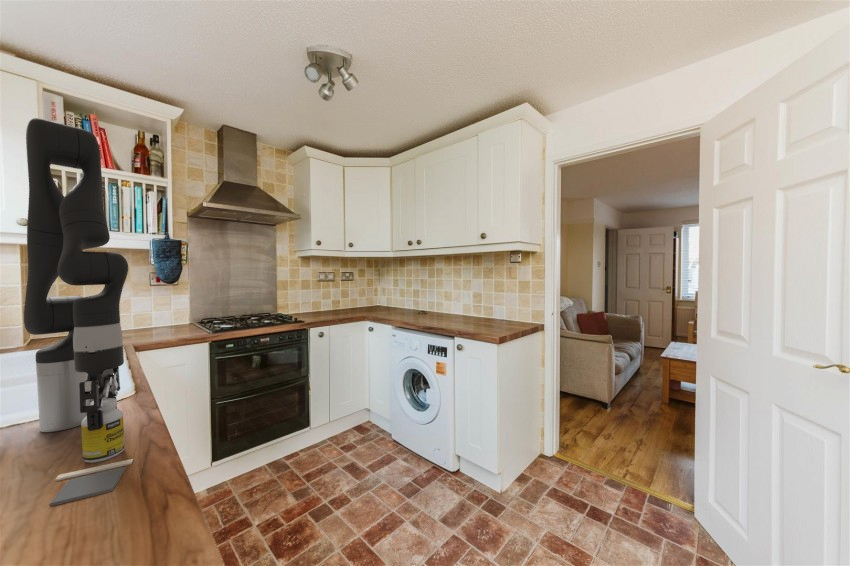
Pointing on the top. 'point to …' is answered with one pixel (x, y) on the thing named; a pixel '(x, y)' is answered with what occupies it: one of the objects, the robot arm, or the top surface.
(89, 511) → the top surface
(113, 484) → the mat
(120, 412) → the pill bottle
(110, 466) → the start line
